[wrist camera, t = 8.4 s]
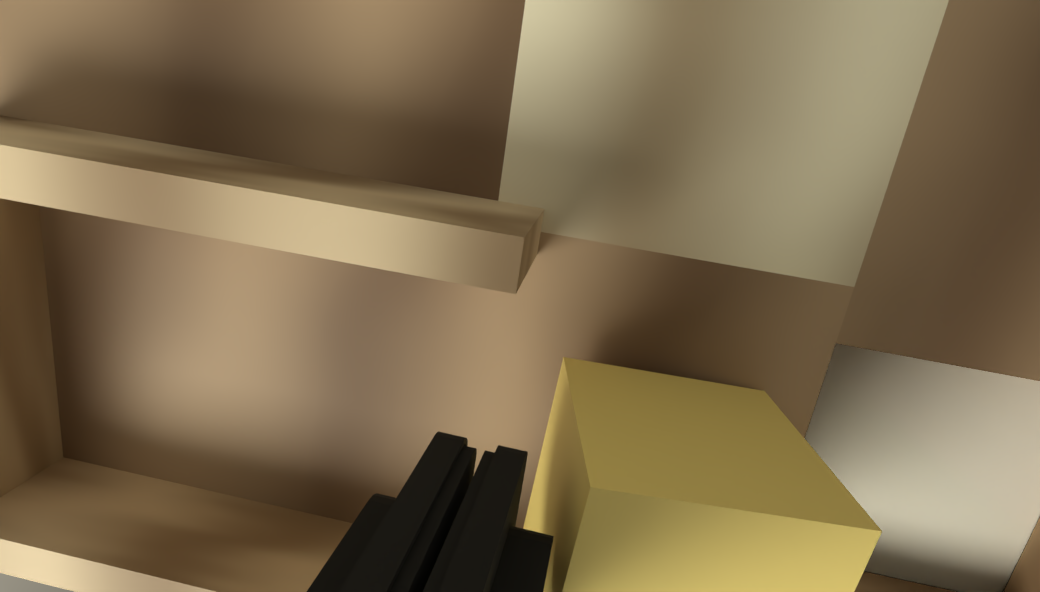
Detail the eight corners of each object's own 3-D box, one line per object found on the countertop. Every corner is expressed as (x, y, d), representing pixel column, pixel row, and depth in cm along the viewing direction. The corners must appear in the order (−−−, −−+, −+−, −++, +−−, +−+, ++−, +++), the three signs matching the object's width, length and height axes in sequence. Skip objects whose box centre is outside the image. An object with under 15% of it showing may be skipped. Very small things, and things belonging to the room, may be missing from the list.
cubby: (544, 208, 13) (524, 237, 10) (484, 585, 16) (456, 687, 13) (-9, 113, 14) (-162, 115, 12) (33, 480, 18) (-79, 552, 15)
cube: (764, 391, 14) (881, 531, 9) (705, 555, 15) (785, 742, 11) (563, 357, 13) (590, 487, 9) (522, 528, 15) (529, 711, 10)
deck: (1475, 18, 11) (1607, 4, 10) (1077, 708, 17) (1124, 769, 15) (27, -162, 14) (-44, -194, 13) (82, 478, 19) (37, 510, 18)
